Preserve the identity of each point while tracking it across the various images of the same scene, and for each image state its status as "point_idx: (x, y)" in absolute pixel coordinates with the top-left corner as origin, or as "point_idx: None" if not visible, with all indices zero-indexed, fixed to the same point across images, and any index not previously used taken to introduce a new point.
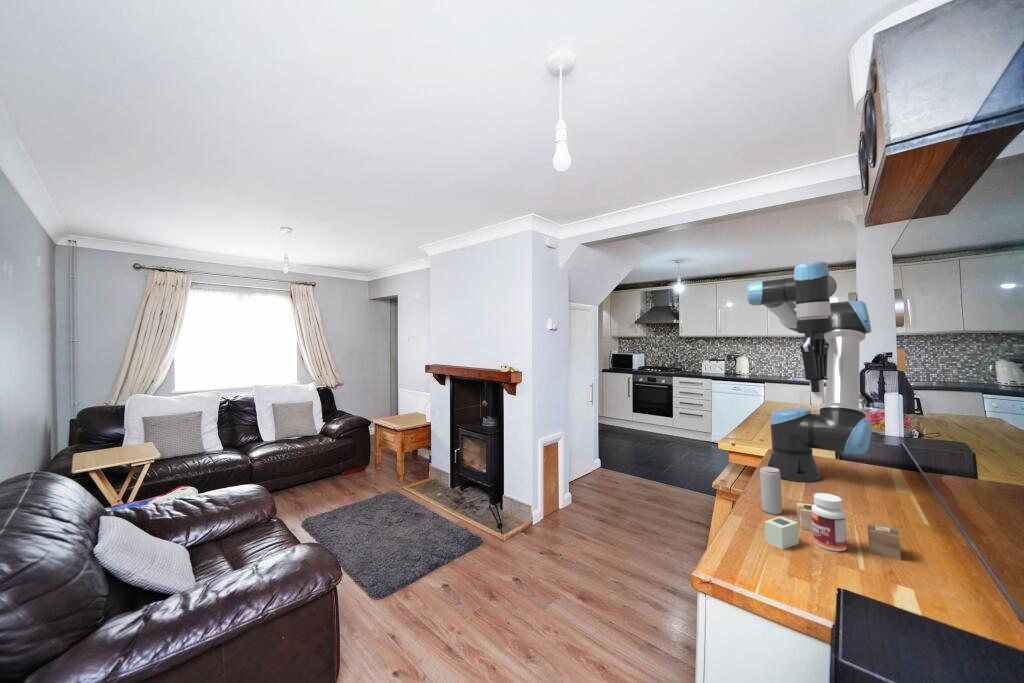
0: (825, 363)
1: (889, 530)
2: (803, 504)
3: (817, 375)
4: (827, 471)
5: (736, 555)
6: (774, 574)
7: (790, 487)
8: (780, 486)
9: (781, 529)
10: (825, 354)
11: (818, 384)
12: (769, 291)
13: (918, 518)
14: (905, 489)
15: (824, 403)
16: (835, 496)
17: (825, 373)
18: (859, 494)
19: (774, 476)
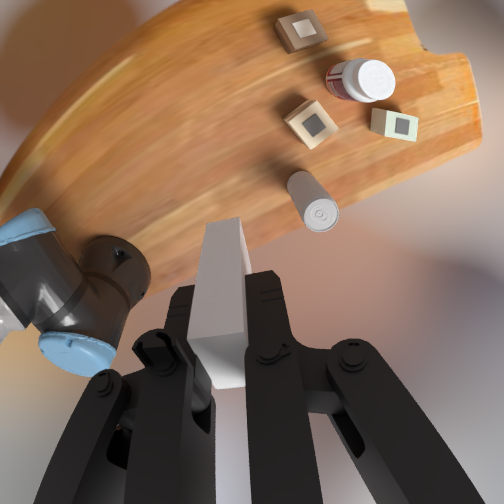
0: (77, 490)
1: (301, 21)
2: (308, 139)
3: (353, 367)
4: None
5: (446, 140)
6: (449, 99)
7: (168, 236)
8: (310, 186)
9: (417, 117)
10: None
11: (253, 317)
12: None
13: (116, 75)
14: (28, 164)
15: (213, 223)
16: (362, 71)
17: (110, 398)
18: (96, 171)
19: (330, 196)
